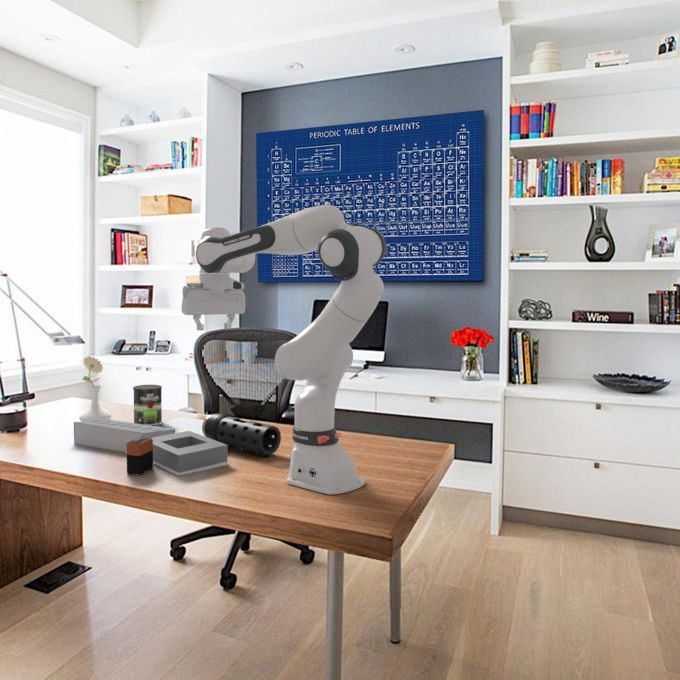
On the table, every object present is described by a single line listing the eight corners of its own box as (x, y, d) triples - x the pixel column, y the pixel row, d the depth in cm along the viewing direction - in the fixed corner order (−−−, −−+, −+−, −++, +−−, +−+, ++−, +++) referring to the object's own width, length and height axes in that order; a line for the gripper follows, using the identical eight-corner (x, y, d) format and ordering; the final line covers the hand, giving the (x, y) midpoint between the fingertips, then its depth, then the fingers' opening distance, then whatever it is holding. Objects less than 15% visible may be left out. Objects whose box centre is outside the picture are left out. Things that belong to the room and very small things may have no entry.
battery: (126, 474, 164) (125, 439, 163) (140, 467, 171) (140, 433, 170) (139, 476, 163) (139, 440, 162) (153, 468, 169) (153, 434, 168)
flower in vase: (117, 421, 225) (115, 356, 223) (88, 426, 216) (87, 359, 214) (99, 416, 233) (97, 353, 231) (71, 421, 224) (69, 356, 222)
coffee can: (164, 424, 221) (164, 387, 220) (136, 427, 216) (135, 389, 215) (159, 419, 230) (158, 383, 229) (131, 421, 225) (130, 385, 224)
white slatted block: (175, 445, 195) (175, 423, 194) (144, 457, 182) (143, 433, 181) (107, 434, 207) (107, 413, 206) (74, 444, 194) (73, 422, 193)
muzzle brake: (260, 461, 178) (260, 428, 177) (200, 445, 195) (199, 414, 194) (281, 454, 186) (281, 422, 185) (221, 439, 203) (221, 410, 202)
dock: (227, 464, 174) (227, 443, 174) (178, 476, 163) (178, 454, 162) (189, 448, 190) (189, 429, 189) (142, 458, 179) (142, 438, 178)
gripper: (188, 283, 165) (188, 332, 167) (248, 284, 179) (248, 329, 181) (177, 282, 170) (177, 330, 171) (237, 283, 184) (236, 327, 185)
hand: (214, 329), depth 176 cm, fingers open, 8 cm apart
